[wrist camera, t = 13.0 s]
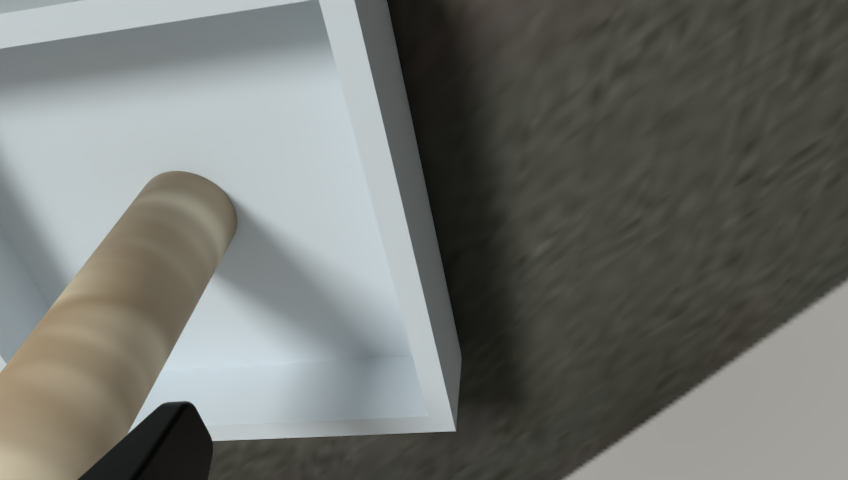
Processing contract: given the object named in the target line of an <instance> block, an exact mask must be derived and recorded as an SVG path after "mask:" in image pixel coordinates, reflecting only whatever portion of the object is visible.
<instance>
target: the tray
mask: <svg viewBox="0 0 848 480" xmlns="http://www.w3.org/2000/svg"><path fill="white" fill-rule="evenodd" d="M169 171H185V172H190V173H194V174H197V175H199V176H202V177H204V178H206V179H208V180H210V181H211V182H213V183H214V184H216V185H217V186H218V187H219V188H220V189H221V190H222V191H223V192H224V193H225V194H226V195H227V196H228V198H229V199H230V201H231V202H232V204H233V206H234V208H235V211H236V214H237V230H236V232H235V235H234V237H233V239H232V240H231V242H230V244H229V246H228V248H227V250H226V252H225V253H224V255H223V257H222V259H221V261H220V263H219V265H218V266H217V268H216V270H215V272H214V274H213V276H212V278H211V279H210V281H209V283H208V285H207V287H206V289H205V291H204V292H203V294H202V296H201V298H200V300H199V302H198V304H197V305H196V307H195V309H194V311H193V313H192V315H191V317H190V318H189V320H188V322H187V324H186V326H185V328H184V330H183V332H182V333H181V335H180V337H179V339H178V341H177V343H176V345H175V346H174V348H173V350H172V352H171V354H170V356H169V358H168V359H167V361H166V363H165V365H164V367H163V369H162V371H161V372H160V374H159V376H158V378H157V380H156V382H155V384H154V385H153V387H152V389H151V391H150V393H149V395H148V397H147V398H146V400H145V402H144V404H143V406H142V408H141V410H140V411H139V413H138V415H137V417H136V419H135V421H134V423H133V424H132V426H131V428H130V430H129V432H130V431H132V430H133V429H134V428H135V427H136V426H137V425H138V424H139V423H140V422H142V421H143V420H144V419H145V418H146V417H147V416H148V415H149V414H150V413H152V412H153V411H154V410H155V409H156V408H157V407H158V406H160V405H161V404H163V403H166V402H178V401H189V402H191V403H192V404H194V405H195V407H196V409H197V411H198V413H199V414H200V416H201V418H202V420H203V422H204V424H205V426H206V428H207V430H208V432H209V433H210V435H211V438H212V441H224V440H249V439H273V438H298V437H323V436H348V435H372V434H397V433H422V432H447V431H456V422H457V410H458V398H459V386H460V374H461V361H462V355H461V350H460V346H459V341H458V336H457V331H456V326H455V322H454V317H453V312H452V307H451V303H450V298H449V293H448V288H447V284H446V279H445V274H444V269H443V265H442V260H441V255H440V250H439V246H438V241H437V236H436V231H435V227H434V222H433V217H432V212H431V208H430V203H429V198H428V193H427V189H426V184H425V179H424V174H423V170H422V165H421V160H420V155H419V151H418V146H417V141H416V136H415V132H414V127H413V122H412V117H411V113H410V108H409V103H408V98H407V93H406V89H405V84H404V79H403V74H402V70H401V65H400V60H399V55H398V51H397V46H396V41H395V36H394V32H393V27H392V22H391V17H390V13H389V8H388V3H387V0H0V372H1V371H2V370H3V368H4V367H5V366H6V365H7V363H8V362H9V361H10V359H11V358H12V357H13V356H14V354H15V353H16V352H17V350H18V349H19V348H20V347H21V345H22V344H23V343H24V341H25V340H26V339H27V337H28V336H29V335H30V334H31V332H32V331H33V330H34V328H35V327H36V326H37V325H38V323H39V322H40V321H41V319H42V318H43V317H44V316H45V314H46V313H47V312H48V310H49V309H50V308H51V307H52V305H53V304H54V303H55V301H56V300H57V299H58V297H59V296H60V295H61V294H62V292H63V291H64V290H65V288H66V287H67V286H68V285H69V283H70V282H71V281H72V279H73V278H74V277H75V276H76V274H77V273H78V272H79V270H80V269H81V268H82V267H83V265H84V264H85V263H86V261H87V260H88V259H89V257H90V256H91V255H92V254H93V252H94V251H95V250H96V248H97V247H98V246H99V245H100V243H101V242H102V241H103V239H104V238H105V237H106V236H107V234H108V233H109V232H110V230H111V229H112V228H113V227H114V225H115V224H116V223H117V221H118V220H119V219H120V217H121V216H122V215H123V214H124V212H125V211H126V210H127V208H128V207H129V206H130V205H131V203H132V202H133V201H134V199H135V198H136V197H137V196H138V194H139V193H140V192H141V190H142V189H143V188H144V187H145V185H146V184H147V183H148V182H149V181H150V180H151V179H152V178H153V177H155V176H157V175H159V174H161V173H164V172H169ZM129 432H128V433H129Z"/></svg>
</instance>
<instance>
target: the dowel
mask: <svg viewBox="0 0 848 480" xmlns="http://www.w3.org/2000/svg"><path fill="white" fill-rule="evenodd" d="M236 230H237V214H236V211H235V208H234V206H233V204H232V202H231V201H230V199H229V198H228V196H227V195H226V194H225V193H224V192H223V191H222V190H221V189H220V188H219V187H218V186H217V185H216V184H214V183H213V182H211V181H210V180H208V179H206V178H204V177H202V176H199V175H197V174H194V173H190V172H185V171H169V172H164V173H161V174H159V175H157V176H155V177H153V178H152V179H151V180H150V181H149V182H148V183H147V184H146V185H145V187H144V188H143V189H142V190H141V192H140V193H139V194H138V196H137V197H136V198H135V199H134V201H133V202H132V203H131V205H130V206H129V207H128V208H127V210H126V211H125V212H124V214H123V215H122V216H121V217H120V219H119V220H118V221H117V223H116V224H115V225H114V227H113V228H112V229H111V230H110V232H109V233H108V234H107V236H106V237H105V238H104V239H103V241H102V242H101V243H100V245H99V246H98V247H97V248H96V250H95V251H94V252H93V254H92V255H91V256H90V257H89V259H88V260H87V261H86V263H85V264H84V265H83V267H82V268H81V269H80V270H79V272H78V273H77V274H76V276H75V277H74V278H73V279H72V281H71V282H70V283H69V285H68V286H67V287H66V288H65V290H64V291H63V292H62V294H61V295H60V296H59V297H58V299H57V300H56V301H55V303H54V304H53V305H52V307H51V308H50V309H49V310H48V312H47V313H46V314H45V316H44V317H43V318H42V319H41V321H40V322H39V323H38V325H37V326H36V327H35V328H34V330H33V331H32V332H31V334H30V335H29V336H28V337H27V339H26V340H25V341H24V343H23V344H22V345H21V347H20V348H19V349H18V350H17V352H16V353H15V354H14V356H13V357H12V358H11V359H10V361H9V362H8V363H7V365H6V366H5V367H4V368H3V370H2V371H1V372H0V480H77V479H78V478H80V477H81V476H82V475H83V474H84V473H85V472H86V471H87V470H88V469H89V468H91V467H92V466H93V465H94V464H95V463H96V462H97V461H98V460H99V459H101V458H102V457H103V456H104V455H105V454H106V453H107V452H108V451H109V450H111V449H112V448H113V447H114V446H115V445H116V444H117V443H118V442H119V441H121V440H122V439H123V438H124V437H125V436H126V435H127V434H128V432H129V430H130V428H131V426H132V424H133V423H134V421H135V419H136V417H137V415H138V413H139V411H140V410H141V408H142V406H143V404H144V402H145V400H146V398H147V397H148V395H149V393H150V391H151V389H152V387H153V385H154V384H155V382H156V380H157V378H158V376H159V374H160V372H161V371H162V369H163V367H164V365H165V363H166V361H167V359H168V358H169V356H170V354H171V352H172V350H173V348H174V346H175V345H176V343H177V341H178V339H179V337H180V335H181V333H182V332H183V330H184V328H185V326H186V324H187V322H188V320H189V318H190V317H191V315H192V313H193V311H194V309H195V307H196V305H197V304H198V302H199V300H200V298H201V296H202V294H203V292H204V291H205V289H206V287H207V285H208V283H209V281H210V279H211V278H212V276H213V274H214V272H215V270H216V268H217V266H218V265H219V263H220V261H221V259H222V257H223V255H224V253H225V252H226V250H227V248H228V246H229V244H230V242H231V240H232V239H233V237H234V235H235V232H236Z"/></svg>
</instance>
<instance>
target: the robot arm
mask: <svg viewBox="0 0 848 480" xmlns="http://www.w3.org/2000/svg"><path fill="white" fill-rule="evenodd" d="M212 454H213V442H212V438H211V435H210V433H209V432H208V430H207V428H206V426H205V424H204V422H203V420H202V418H201V416H200V414H199V413H198V411H197V409H196V407H195V405H194V404H192V403H191V402H189V401H178V402H166V403H163V404H161V405H160V406H158V407H157V408H156V409H155V410H154V411H153V412H152V413H150V414H149V415H148V416H147V417H146V418H145V419H144V420H143V421H142V422H140V423H139V424H138V425H137V426H136V427H135V428H134V429H133V430H132V431H130V432H129V433H128V434H127V435H126V436H125V437H124V438H123V439H122V440H121V441H119V442H118V443H117V444H116V445H115V446H114V447H113V448H112V449H111V450H109V451H108V452H107V453H106V454H105V455H104V456H103V457H102V458H101V459H99V460H98V461H97V462H96V463H95V464H94V465H93V466H92V467H91V468H89V469H88V470H87V471H86V472H85V473H84V474H83V475H82V476H81V477H80V478H78V479H77V480H208V475H209V470H210V465H211V460H212Z"/></svg>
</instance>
